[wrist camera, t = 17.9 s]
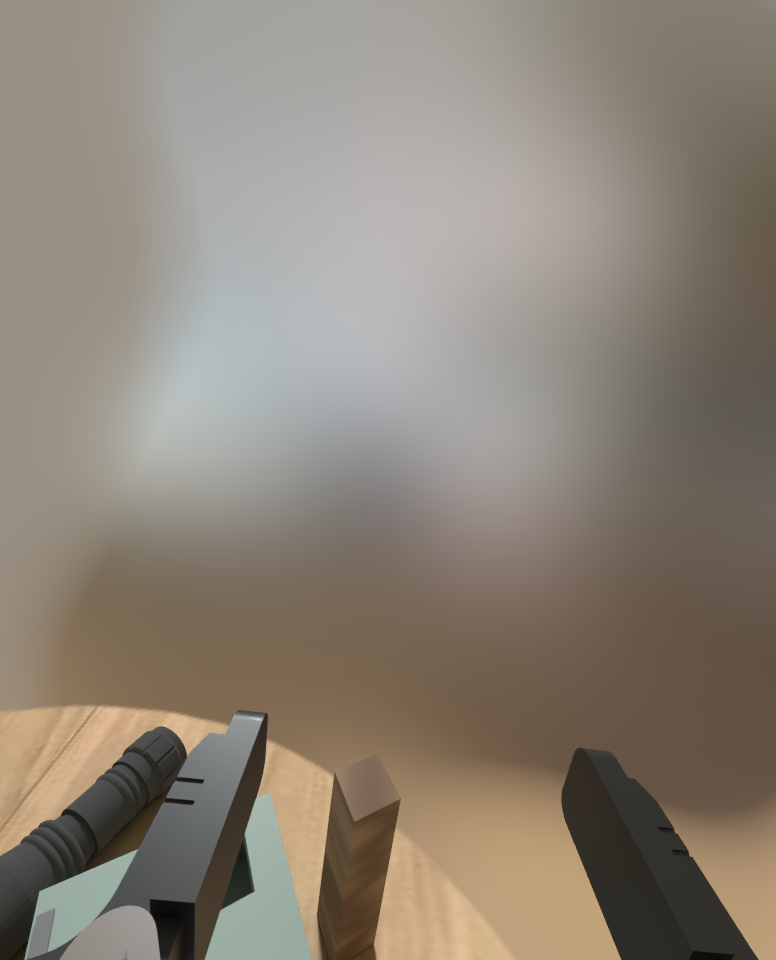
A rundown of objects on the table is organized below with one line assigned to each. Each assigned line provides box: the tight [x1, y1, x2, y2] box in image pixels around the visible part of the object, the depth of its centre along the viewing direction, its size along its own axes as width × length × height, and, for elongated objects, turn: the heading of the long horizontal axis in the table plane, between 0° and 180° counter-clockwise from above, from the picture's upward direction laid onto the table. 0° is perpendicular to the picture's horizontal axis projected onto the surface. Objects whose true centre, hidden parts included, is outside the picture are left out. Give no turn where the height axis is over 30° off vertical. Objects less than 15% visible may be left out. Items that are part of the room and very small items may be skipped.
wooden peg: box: [317, 754, 400, 960], centre depth 26 cm, size 3×3×14 cm
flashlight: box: [0, 727, 187, 960], centre depth 30 cm, size 15×5×5 cm, turn 160°
